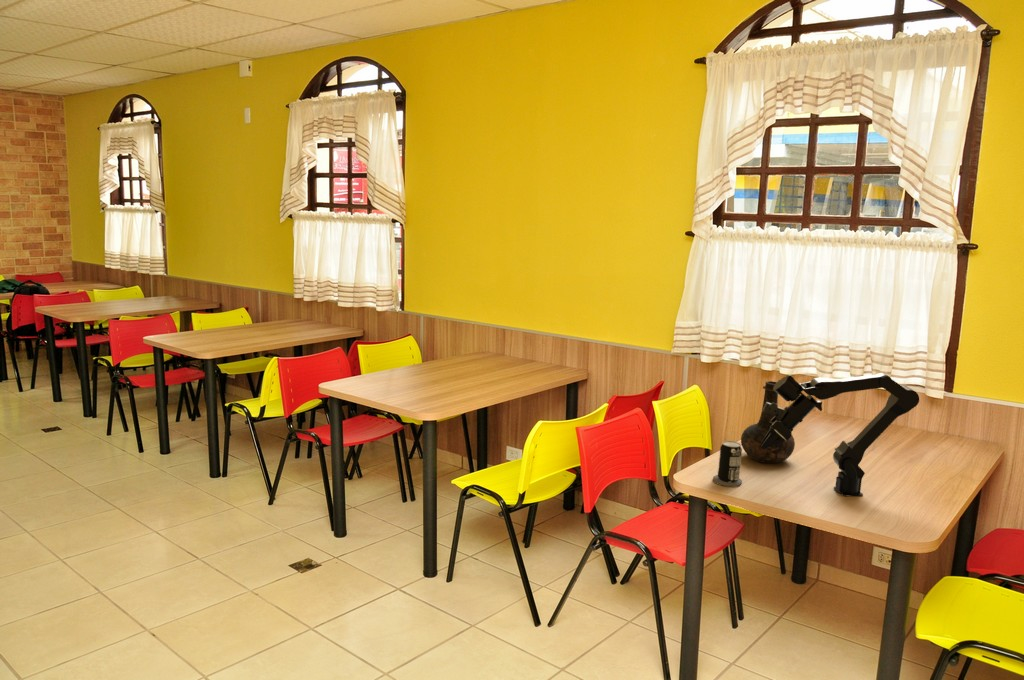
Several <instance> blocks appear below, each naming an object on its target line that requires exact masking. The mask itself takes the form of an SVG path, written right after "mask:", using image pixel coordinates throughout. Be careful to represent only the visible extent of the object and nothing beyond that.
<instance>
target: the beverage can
mask: <svg viewBox="0 0 1024 680" xmlns="http://www.w3.org/2000/svg"><path fill="white" fill-rule="evenodd" d="M742 450H743V448H742V445H741V442H737V441H731V440H724V441H722V444H721V445H720V449H719V459H718V470H717V475H718V477H719V479H720V480H722V481H724V482H731V483H732V482H736V481H737V480H738V479H740V473H741V472H740V470H741V461H742V454H743V453H742V452H743V451H742Z"/></svg>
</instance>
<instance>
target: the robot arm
mask: <svg viewBox="0 0 1024 680" xmlns="http://www.w3.org/2000/svg"><path fill="white" fill-rule="evenodd" d="M776 382H777V383H776V384H775V385H774V387H773V390H774V391H776V392H777V393H778V396H780V397H782V398H783V399H784V400H785V402H792V403H790V404H789V405H788V406H785V407H784V408H782V407H780V406H779V404H778V405H777V404H775V403H772V404H771V403H769V402H766V404H765V406H764V408H763V412H764V413H766V414H767V413H768V414H770V415H773V416H774V417H773V418H772V419H771V421H772V422H773V423H772V422H770V430H769V431H768V433H767V434H766V436H765V437H764V439H763V441H762V442H761V444H762V446H761V448H762V449H766V448H768V447H771V446H773V445H776V444H778V443H781V442H784V441H786V440H788V439H789V438H790V437H791V436H793V434H792V432H793V431H794V429H795V428H796V427H797V425H799V424H801V423H802V422H803V420H804V419H806V417H807V416H808V415H809V414H810V413H811V412H812V411H814V409H815V408H816V409H818V411H820V412H822V411H823V402H822V401H823V400H827V399H828V400H829V399H831V398H834V397H837V396H839V395H840V394H841V395H842V394H845V393H851V392H852V393H853V392H859V391H866V390H874V389H884V390H886V392H888V393H889V394H890V395H889V396H888V398H887V400H886V403H885V406H884V407H883V408H882V409H881V410H880V411H879V412H878V413H877V415H875V417H874V418H872V420H871V421H870V422H869V423H868V424H867V425H866V426H865V427H864V428H863V429H862V431H860V432H859V433H858V435H856V437H854V439H853V440H851V441H849V442H848V441H846V440H842V441H841V442H840V444H839V445H838V446H837V447H835V448H834V452H833V454H832V457H833V458H832V459H833V461H834V463H835V464H836V465H837V466H838V469H839V470H840V471H838V473H837V476H836V478H835V479H836V480H835V486H833V490H835V491H837V492H838V493H839V494H841V495H842V496H845V497H851V496H853V497H855V496H856V497H858V496H859V497H863V495H864V494H863V493H862V492H861V488H862V481H863V478H864V476H865V471H864V470H863V468H861V467H860V466H859V465H860V463H861V462H862V460H863V458H864V455H865V452H866V451H867V450H868V448H869V447H871V445H872V444H874V442H875V441H876V440H877V439H878V438H879V437H880V436H881V435H882V434H883V433H884V432H885V431H886V430H887V429H888V428H889V426H891V425H892V424H893V423H894V421H896V420H897V418H898V417H901V416H902V415H905V414H907V413H909V412H910V411H912V410H913V409H914V408H916V407H917V406H918V405H919V403H920V396H919V393H918V392H917V391H916V390H913V389H912V388H910V387H908V386H907V385H901V384H900V383H898V382H896V381H895V380H894V379H893V378H892V377H891V376H889V375H888V374H886V373H885V372H879V373H877V374H869V375H868V374H867V375H862V376H855V377H854V376H852V377H846V378H845V377H843V378H832V377H814V378H813V379H811V381H807V382H802V383H801V382H800V383H799V382H798V381H797V380H795V378H794V377H793V376H792V375H791V374H787V375H786V376H783V377H782V378H781V379H778V380H777V381H776ZM803 392H804V393H805V394H804V393H803ZM806 394H807V395H806ZM817 399H818V400H817Z"/></svg>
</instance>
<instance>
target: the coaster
mask: <svg viewBox="0 0 1024 680" xmlns="http://www.w3.org/2000/svg"><path fill="white" fill-rule="evenodd" d="M713 481H714V482H716V483H718V484H721V485H725V486H724V487H726V486H738V487H740V485H741V484H742V485H743V480H742V479H741V478H739V479H738V480H737V481H736V482H732V483H731V482H724V481H722V480H720V479H719V477H718V474H716V475H714V476H713V477H712V482H713ZM714 482H713V483H714ZM716 483H715V484H716ZM718 484H717V485H718ZM721 485H720V486H721ZM742 485H741V486H742Z"/></svg>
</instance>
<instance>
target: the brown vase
mask: <svg viewBox="0 0 1024 680" xmlns="http://www.w3.org/2000/svg"><path fill="white" fill-rule="evenodd" d="M777 382H778V381H772V380H769V381H768V380H767V381H766V382H765V385H763V386H762V389H764V395H763V401H762V409H761V412H760V413H761V414H760V416H759V420H758V422H757V423H754V424H751V425H749V426H746V428H745V429H744V430H743V432H742V433H741V437H740V444H741V448H742V450H743V451H744V452H745V453H746V455H747V456H748V457H749V458H751V459H753V460H754V461H756V462H760V463H767V464H777V463H781V462H784V461H786V460H787V459H788V458H789V457H791V455H792V454H793V452H794V451H795V446H796V443H795V438H794V436H793V435H792V436H791V437H790V438H789V439H788V440H786V441H784V442H781V443H778V444H776V445H773V446H771V447H768V448H766V449H762V448H761V446H762V444H761V442H762V441H763V439H764V437H765V436H766V434H767V433H768V431H769V430H770V422H772V421H771V419H772V418H773V417H774V416H773V415H770V414H768V413H767V414H766V413H764V412H763V408H764V406H765V404H766V402H769V403H771V404H772V403H775V404H777V405H778V406H779V403H778V400H779V399H778V397H779V394H778V393H777V392H776V391H774V390H773V387H774V385H775V384H776V383H777ZM772 423H773V422H772Z"/></svg>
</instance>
